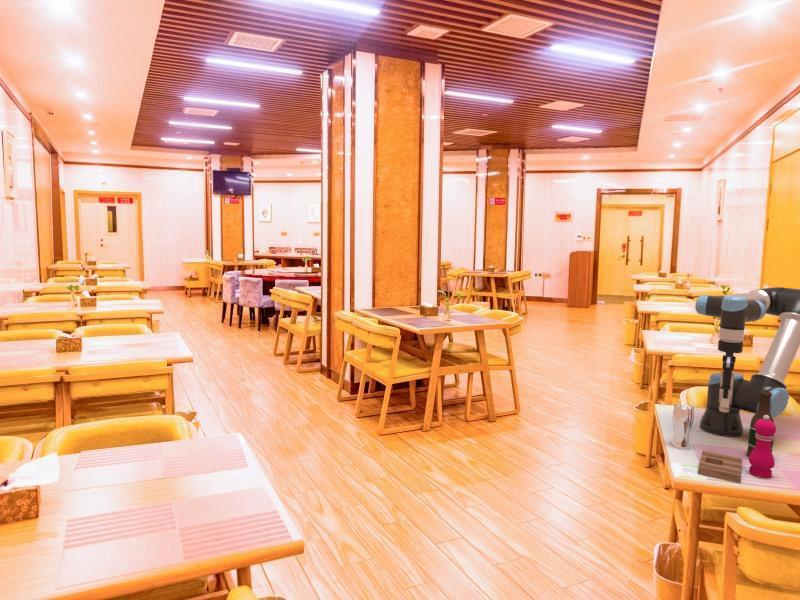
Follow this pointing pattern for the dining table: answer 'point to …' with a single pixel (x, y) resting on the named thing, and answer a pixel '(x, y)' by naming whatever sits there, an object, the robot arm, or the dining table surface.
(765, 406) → the beer bottle
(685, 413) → the beer glass
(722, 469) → the board
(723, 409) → the peg
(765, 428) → the pepper mill
